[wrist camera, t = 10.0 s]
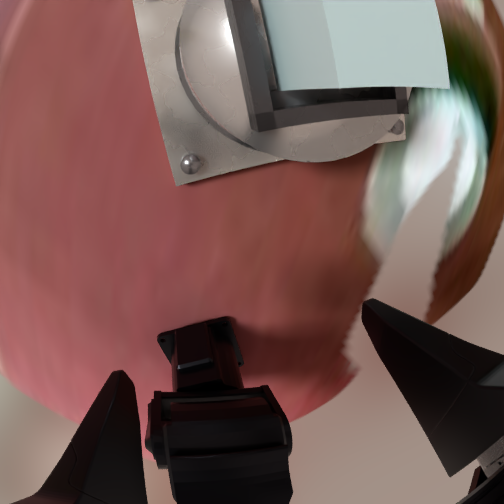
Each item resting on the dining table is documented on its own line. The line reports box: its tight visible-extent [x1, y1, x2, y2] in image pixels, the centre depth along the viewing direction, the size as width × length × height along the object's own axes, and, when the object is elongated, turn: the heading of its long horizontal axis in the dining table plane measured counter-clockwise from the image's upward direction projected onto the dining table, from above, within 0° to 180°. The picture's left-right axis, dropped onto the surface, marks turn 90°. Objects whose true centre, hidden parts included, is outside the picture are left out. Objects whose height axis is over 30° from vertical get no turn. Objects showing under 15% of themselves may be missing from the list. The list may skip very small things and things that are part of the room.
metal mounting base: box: [133, 0, 412, 186], centre depth 13 cm, size 14×17×6 cm
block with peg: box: [258, 0, 450, 91], centre depth 8 cm, size 7×5×6 cm
